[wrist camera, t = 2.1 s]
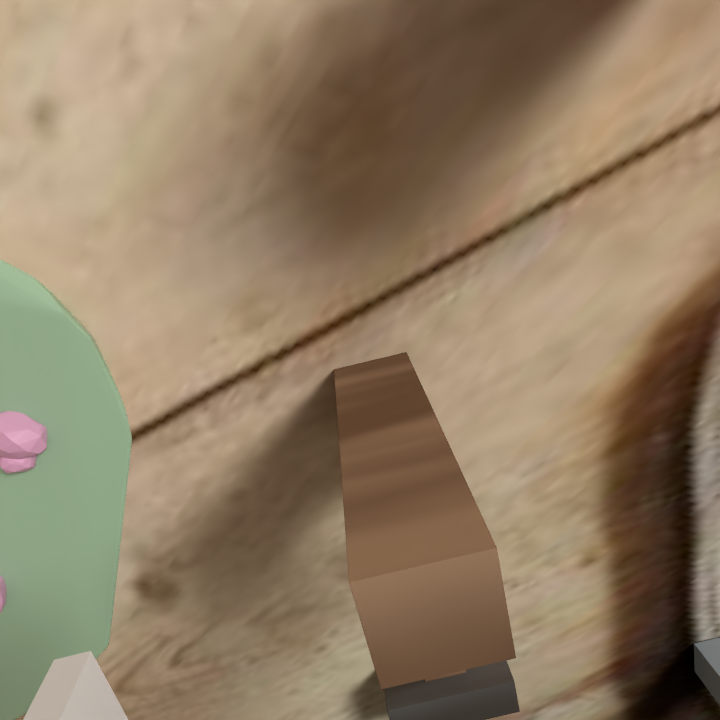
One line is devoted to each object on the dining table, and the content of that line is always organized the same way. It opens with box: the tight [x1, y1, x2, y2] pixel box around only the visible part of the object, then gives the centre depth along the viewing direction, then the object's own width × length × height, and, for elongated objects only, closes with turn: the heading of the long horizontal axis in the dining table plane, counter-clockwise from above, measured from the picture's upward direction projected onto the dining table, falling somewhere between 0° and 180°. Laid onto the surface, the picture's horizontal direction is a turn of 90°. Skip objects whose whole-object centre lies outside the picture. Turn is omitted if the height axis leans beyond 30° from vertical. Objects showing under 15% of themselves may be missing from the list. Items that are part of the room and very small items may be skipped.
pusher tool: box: [334, 352, 520, 720], centre depth 20 cm, size 18×6×12 cm, turn 13°
